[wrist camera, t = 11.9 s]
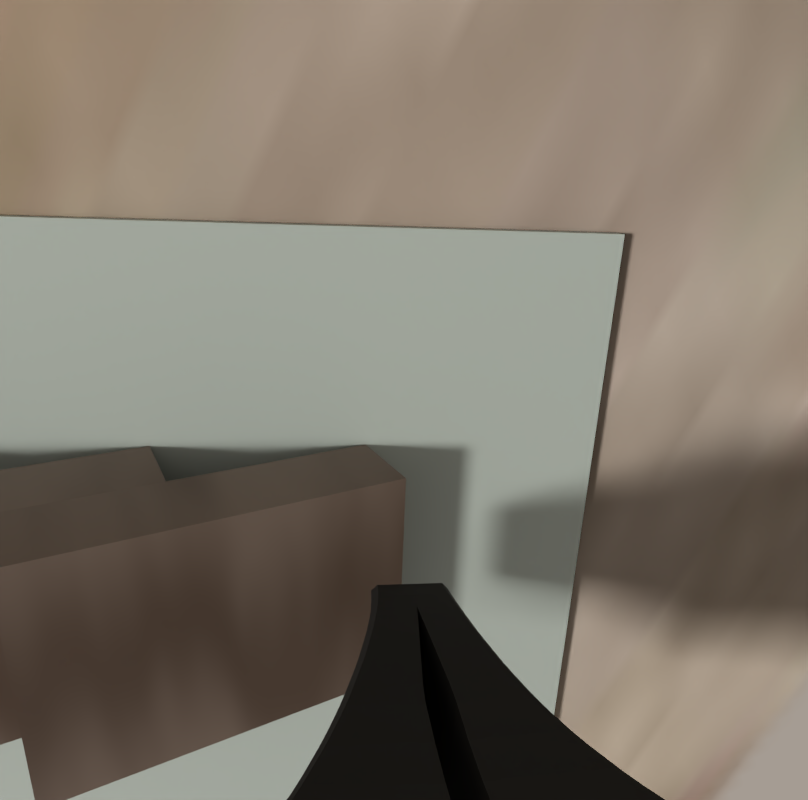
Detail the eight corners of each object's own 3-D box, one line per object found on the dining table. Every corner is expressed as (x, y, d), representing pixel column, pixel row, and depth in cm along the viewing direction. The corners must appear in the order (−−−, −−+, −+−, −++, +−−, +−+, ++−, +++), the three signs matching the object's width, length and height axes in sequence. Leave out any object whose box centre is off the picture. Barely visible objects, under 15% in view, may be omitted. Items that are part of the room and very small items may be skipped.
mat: (537, 799, 19) (540, 809, 19) (-487, 869, 16) (-502, 881, 16) (619, 232, 14) (624, 234, 13) (-902, 188, 11) (-935, 189, 10)
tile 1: (397, 674, 14) (37, 810, 11) (362, 625, 16) (34, 733, 13) (406, 478, 13) (-14, 569, 10) (365, 444, 14) (-10, 513, 11)
